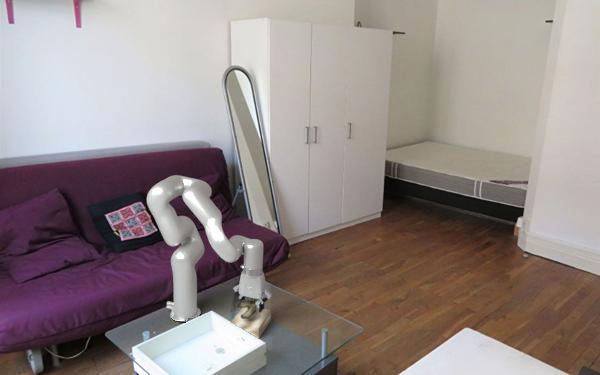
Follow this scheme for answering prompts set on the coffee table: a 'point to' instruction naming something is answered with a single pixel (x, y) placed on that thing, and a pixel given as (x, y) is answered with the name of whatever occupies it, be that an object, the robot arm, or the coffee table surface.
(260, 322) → the pedestal
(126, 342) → the coffee table surface
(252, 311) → the eagle figurine
